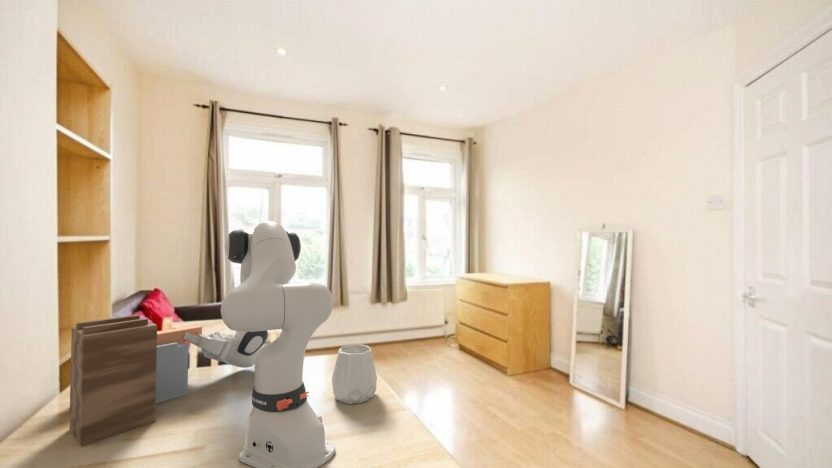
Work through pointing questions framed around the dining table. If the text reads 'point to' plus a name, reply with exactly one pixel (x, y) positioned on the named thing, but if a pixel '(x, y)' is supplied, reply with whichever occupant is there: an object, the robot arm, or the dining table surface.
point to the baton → (177, 334)
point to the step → (171, 371)
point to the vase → (354, 374)
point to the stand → (112, 377)
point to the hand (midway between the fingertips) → (178, 332)
